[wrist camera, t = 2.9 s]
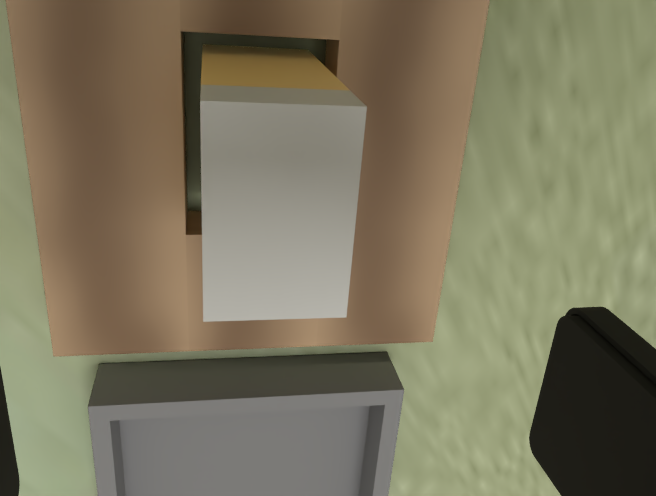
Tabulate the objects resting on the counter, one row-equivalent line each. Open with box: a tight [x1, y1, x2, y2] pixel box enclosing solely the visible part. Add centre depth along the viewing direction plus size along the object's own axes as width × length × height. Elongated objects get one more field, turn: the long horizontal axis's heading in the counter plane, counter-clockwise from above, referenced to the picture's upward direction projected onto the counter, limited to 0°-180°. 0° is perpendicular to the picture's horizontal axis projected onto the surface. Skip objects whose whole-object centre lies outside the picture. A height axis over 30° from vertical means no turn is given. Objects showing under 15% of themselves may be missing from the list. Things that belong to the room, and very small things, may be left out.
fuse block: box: [200, 44, 367, 322], centre depth 21 cm, size 4×6×10 cm, turn 176°
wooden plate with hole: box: [6, 0, 490, 356], centre depth 24 cm, size 16×18×2 cm
